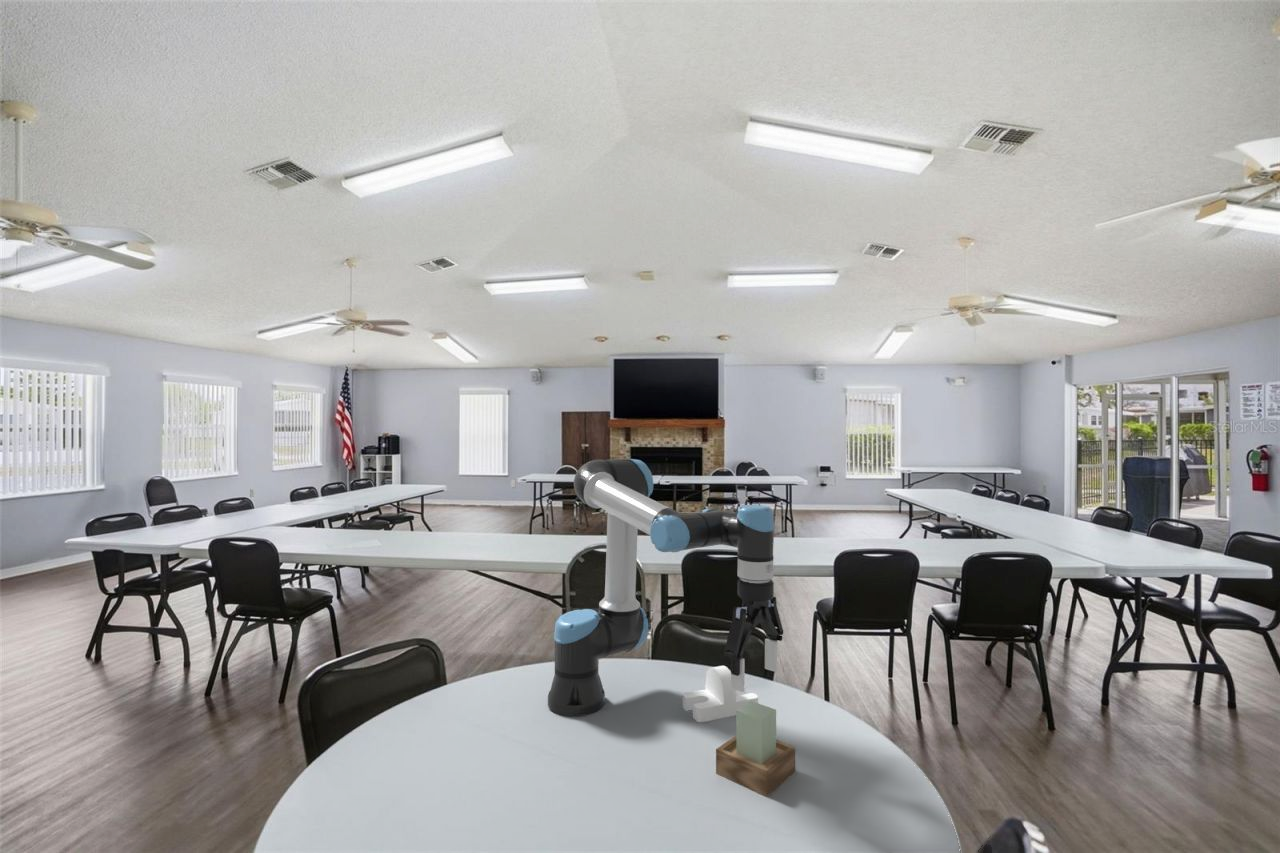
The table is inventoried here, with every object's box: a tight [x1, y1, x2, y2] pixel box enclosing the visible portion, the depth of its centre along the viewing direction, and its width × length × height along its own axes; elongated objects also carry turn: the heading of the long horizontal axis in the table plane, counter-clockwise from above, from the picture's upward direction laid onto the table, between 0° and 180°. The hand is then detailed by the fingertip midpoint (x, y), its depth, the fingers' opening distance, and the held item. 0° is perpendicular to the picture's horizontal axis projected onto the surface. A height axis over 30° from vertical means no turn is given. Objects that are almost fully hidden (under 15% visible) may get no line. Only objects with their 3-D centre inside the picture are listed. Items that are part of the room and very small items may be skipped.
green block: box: [735, 701, 777, 764], centre depth 122 cm, size 6×6×9 cm
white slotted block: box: [682, 665, 759, 723], centre depth 151 cm, size 10×18×11 cm, turn 112°
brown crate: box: [715, 735, 796, 798], centre depth 122 cm, size 12×12×5 cm
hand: (755, 679), depth 123 cm, fingers open, 13 cm apart
